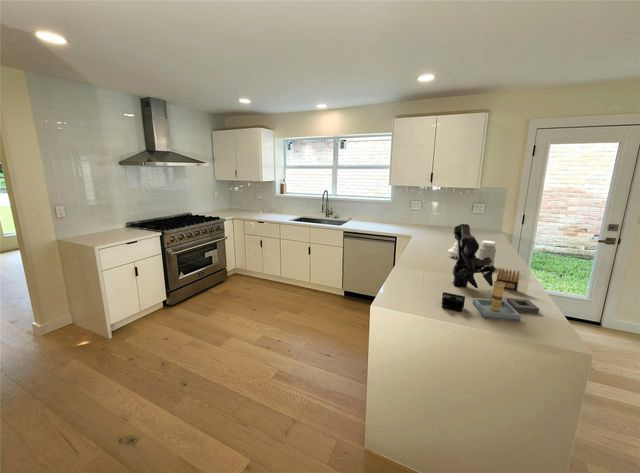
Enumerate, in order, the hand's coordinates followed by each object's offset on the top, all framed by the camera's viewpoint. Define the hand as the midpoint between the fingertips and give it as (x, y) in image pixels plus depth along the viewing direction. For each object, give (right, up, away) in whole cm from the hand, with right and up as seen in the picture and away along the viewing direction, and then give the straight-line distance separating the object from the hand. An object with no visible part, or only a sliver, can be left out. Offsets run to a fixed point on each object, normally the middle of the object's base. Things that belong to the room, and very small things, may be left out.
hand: (484, 287), depth 142 cm
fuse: (+2, -10, -5) cm, 12 cm away
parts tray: (+2, -11, -5) cm, 12 cm away
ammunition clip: (+25, -5, +22) cm, 33 cm away
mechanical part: (+23, +9, +79) cm, 83 cm away
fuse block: (+18, -10, -1) cm, 21 cm away
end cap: (-17, -10, -1) cm, 20 cm away
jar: (+34, +4, +59) cm, 68 cm away
